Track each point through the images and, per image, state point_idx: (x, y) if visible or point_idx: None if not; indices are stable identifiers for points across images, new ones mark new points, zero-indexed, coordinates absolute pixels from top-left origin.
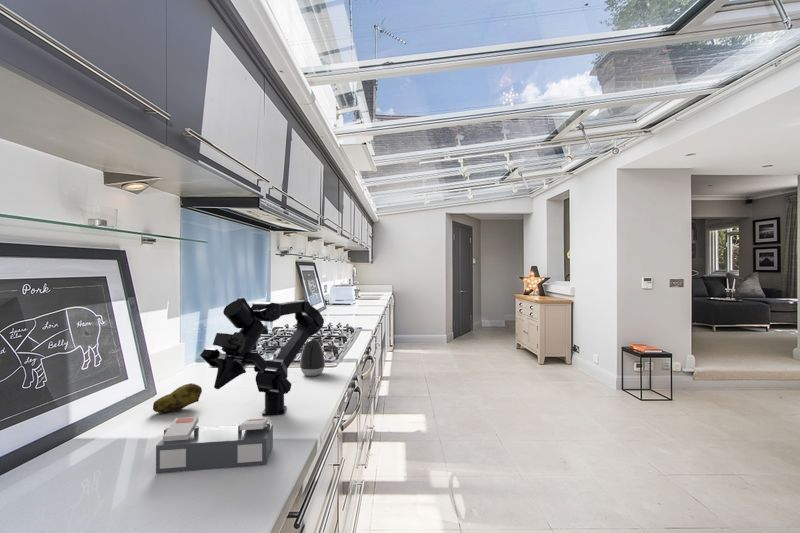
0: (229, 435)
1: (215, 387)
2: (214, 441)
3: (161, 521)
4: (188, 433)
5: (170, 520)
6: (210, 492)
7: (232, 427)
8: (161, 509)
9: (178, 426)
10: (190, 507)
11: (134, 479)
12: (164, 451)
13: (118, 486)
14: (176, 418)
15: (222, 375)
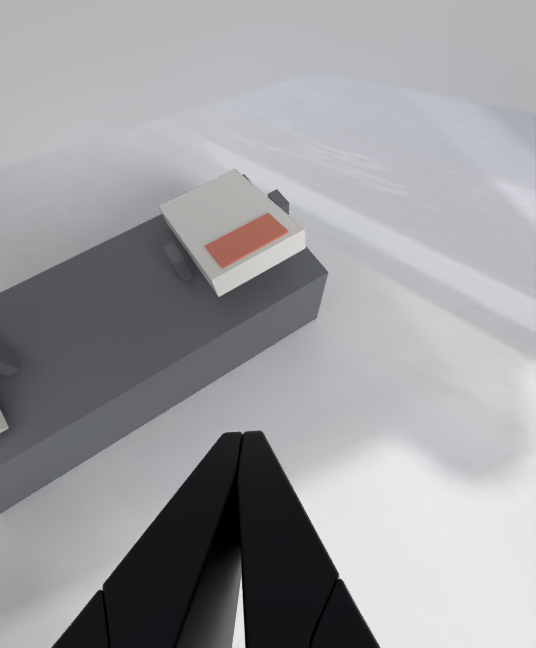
0: (41, 320)
1: (241, 434)
2: (69, 262)
3: (82, 152)
4: (163, 213)
5: (68, 158)
6: (51, 234)
7: (81, 389)
8: (111, 168)
9: (234, 211)
10: (58, 190)
11: None
12: None
13: (276, 177)
14: (298, 230)
15: (165, 576)
